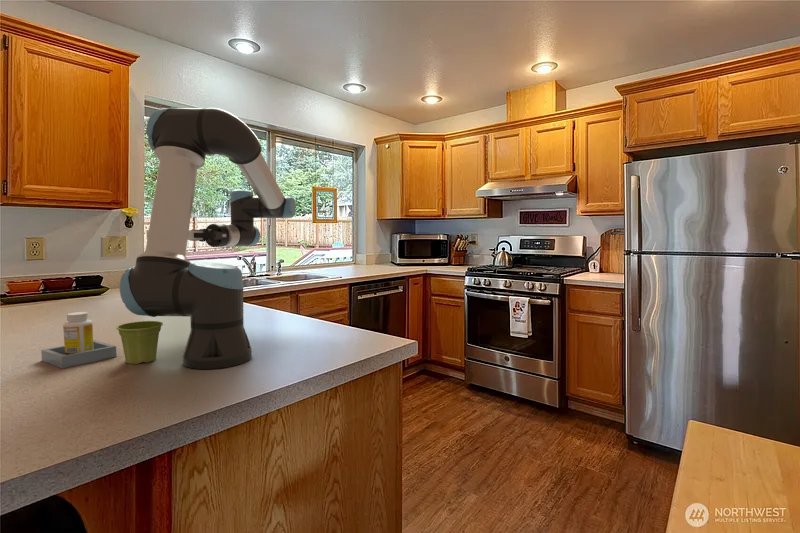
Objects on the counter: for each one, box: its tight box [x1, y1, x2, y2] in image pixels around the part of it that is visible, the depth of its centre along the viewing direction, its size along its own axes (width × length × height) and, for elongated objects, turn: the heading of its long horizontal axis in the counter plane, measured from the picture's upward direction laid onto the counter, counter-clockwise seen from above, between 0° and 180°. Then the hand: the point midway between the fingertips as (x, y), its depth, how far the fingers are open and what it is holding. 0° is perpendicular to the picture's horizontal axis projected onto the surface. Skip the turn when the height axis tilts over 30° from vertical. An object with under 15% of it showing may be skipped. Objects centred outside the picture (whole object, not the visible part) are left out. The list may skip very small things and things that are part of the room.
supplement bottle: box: [62, 311, 94, 355], centre depth 100 cm, size 6×6×10 cm
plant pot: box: [116, 320, 164, 365], centre depth 98 cm, size 9×9×9 cm
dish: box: [41, 339, 117, 369], centre depth 100 cm, size 11×11×3 cm
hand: (164, 234), depth 117 cm, fingers open, 13 cm apart
